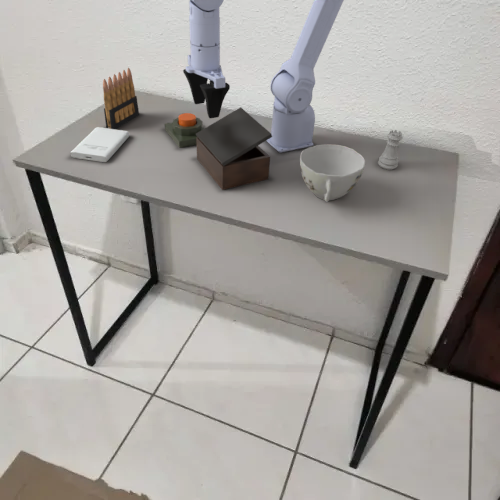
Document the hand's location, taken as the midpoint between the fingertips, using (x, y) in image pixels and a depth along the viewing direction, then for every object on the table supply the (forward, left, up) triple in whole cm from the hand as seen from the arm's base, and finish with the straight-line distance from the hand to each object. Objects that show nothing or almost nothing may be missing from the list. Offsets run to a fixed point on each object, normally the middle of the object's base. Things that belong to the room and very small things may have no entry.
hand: (206, 110), depth 99 cm
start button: (+1, -10, -7) cm, 12 cm away
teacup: (-15, +25, -10) cm, 31 cm away
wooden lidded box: (-2, +8, -10) cm, 13 cm away
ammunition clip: (+13, -23, -10) cm, 28 cm away
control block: (+1, -10, -10) cm, 14 cm away
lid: (-2, +8, -3) cm, 9 cm away
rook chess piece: (-35, +20, -10) cm, 42 cm away
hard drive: (+21, -12, -10) cm, 26 cm away
